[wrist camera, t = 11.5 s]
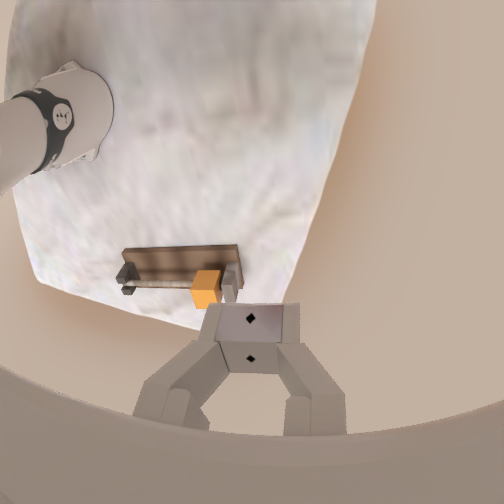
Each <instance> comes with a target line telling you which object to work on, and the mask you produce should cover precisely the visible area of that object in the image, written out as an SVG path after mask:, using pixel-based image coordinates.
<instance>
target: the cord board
mask: <svg viewBox="0 0 504 504" xmlns="http://www.w3.org/2000/svg"><path fill="white" fill-rule="evenodd" d="M122 256H123V258H124V260H125V264H124V266H123V267H122V269H121V270H120V272H119V273H118V275H117V276H116V280H117V282H118V284H123V285H124V286H123V287H122V289H121V290H122V292H123V294H124V295H132V294H133V292H134V291H135V289H136V287H138V288H180V289H191V286H192V283H193V281H194V278H195V276H196V274H197V271H198V270H220V272H221V277H220V282H219V285H220V290H221V291H223V295H224V299H225V302H227V303H236V299H237V295H238V290H239V289H243V285H244V282H243V277H242V271H241V265H240V260H239V254H238V248H237V245H214V246H186V247H159V248H133V249H124V251H123V252H122Z"/></svg>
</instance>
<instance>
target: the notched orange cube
mask: <svg viewBox="0 0 504 504" xmlns="http://www.w3.org/2000/svg"><path fill="white" fill-rule="evenodd" d="M220 277H221V272H220V270H198V271H197V274H196V276H195V278H194V281H193V283H192V286H191V289H190V291H191V294H192V297H193V300H194V303H195V306H196V309H207V307H208V305H209V304H210V303H221V300H222V296H223V291H221V290H220V285H219V282H220Z"/></svg>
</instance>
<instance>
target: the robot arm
mask: <svg viewBox="0 0 504 504" xmlns="http://www.w3.org/2000/svg"><path fill="white" fill-rule="evenodd" d="M65 70H66V71H65ZM112 117H113V101H112V96H111V93H110V90H109V88H108V86H107V84H106V83H105V81H104V80H103V79H102V78H101V77H100V76H99V75H97V74H96V73H94V72H91V71H88V70H85V69H83V68H81V67H80V66H79V65H78V64H77V63H76V62H75V61H69V62H67V63H65V64H64V65H63V66H62V67H61V68H59V69H58V70H57V71H56V72H55V73H53V74H51V75H48V76H45V77H42V78H41V79H40V81H39V82H38V83H37V84H36V85H35V86H34V87H33V88H32V89H30V90H26V91H23V92H21V93H20V94H17V95H15V96H14V97H13V98H11V99H10V100H8V101H6V102H3V103H0V198H1V197H2V196H3V195H4V194H5V193H6V192H8V191H9V190H10V189H11V188H12V187H13V186H15V185H16V184H17V183H18V182H20V181H21V180H22V179H24V178H25V177H26V176H28V175H29V174H35V173H37V172H39V171H42V170H44V171H45V170H49V169H51V168H53V167H55V168H59V167H61V166H65V165H67V164H69V163H71V162H90V161H92V160H94V159H95V158H96V156H97V153H98V149H99V145H100V143H101V141H102V140H103V139H104V137H105V136H106V134H107V133H108V130H109V128H110V125H111V122H112ZM85 155H86V156H85ZM229 372H231V373H263V374H279V376H280V378H281V380H282V381H283V383H284V385H285V386H286V388H287V390H288V391H289V393H290V395H291V397H290V398H289V399H287V400H286V409H285V421H284V422H285V423H284V433H283V436H264V435H248V434H236V433H235V434H234V433H225V432H216V431H209V424H210V422H209V421H208V419H207V418H206V416H205V415H204V414H203V412H202V411H201V409H200V407H201V406H202V405H203V404H204V403H205V402H206V401H207V399H208V398H209V397H210V396H211V395H212V394H213V393H214V391H215V390H216V389H217V388H218V387H219V386H220V385H221V383H222V382H223V381H224V380H225V379H226V377H227V376H228V375H229ZM0 504H504V400H502V401H499V402H496V403H494V404H491V405H488V406H485V407H482V408H479V409H476V410H473V411H469V412H466V413H462V414H459V415H456V416H452V417H448V418H444V419H440V420H436V421H431V422H427V423H422V424H417V425H412V426H407V427H401V428H396V429H388V430H382V431H374V432H365V433H357V434H356V433H355V434H347V432H346V409H345V394H344V393H343V391H342V390H341V389H340V388H339V386H338V385H337V384H336V382H335V381H333V379H332V377H331V376H330V375H329V374H328V372H327V371H326V370H325V369H324V367H323V366H322V365H321V364H320V362H319V361H318V360H317V359H316V357H315V356H314V355H313V354H312V352H311V351H310V350H309V348H308V347H307V346H306V345H305V343H300V304H299V303H255V304H242V303H210V304H209V305H208V307H207V310H206V314H205V317H204V320H203V323H202V327H201V330H200V334H199V337H198V340H193V341H192V342H191V343H189V344H188V345H187V346H186V347H185V348H184V349H183V350H181V351H180V352H179V353H178V354H177V355H176V356H174V357H173V358H172V359H171V360H170V361H168V362H167V363H166V364H165V365H164V366H163V367H161V368H160V369H159V370H158V371H157V372H156V373H154V374H153V375H152V376H151V377H149V378H148V379H147V380H146V381H145V382H144V384H143V387H142V389H141V392H140V395H139V398H138V401H137V403H136V406H135V409H134V412H133V415H132V416H131V415H127V414H124V413H120V412H116V411H113V410H109V409H106V408H103V407H100V406H96V405H93V404H90V403H87V402H84V401H82V400H78V399H76V398H73V397H70V396H68V395H65V394H63V393H60V392H57V391H55V390H53V389H50V388H48V387H45V386H43V385H41V384H38V383H36V382H34V381H31V380H30V379H27V378H25V377H23V376H21V375H19V374H17V373H15V372H13V371H11V370H9V369H7V368H5V367H3V366H1V365H0Z"/></svg>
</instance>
